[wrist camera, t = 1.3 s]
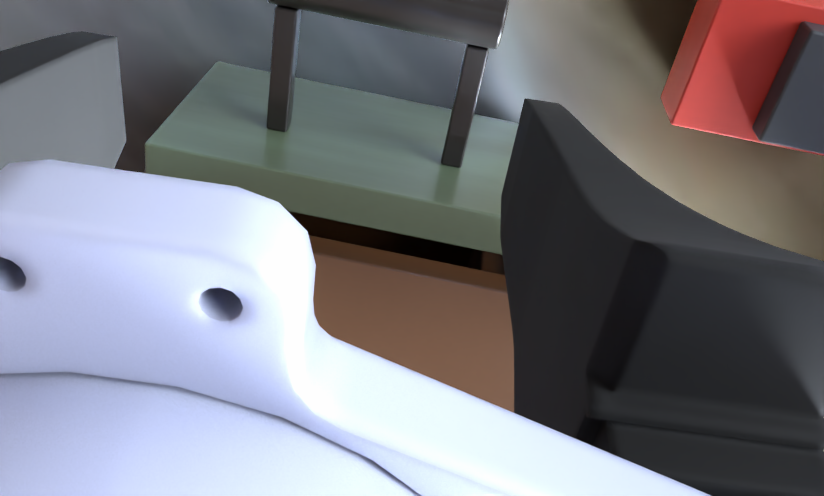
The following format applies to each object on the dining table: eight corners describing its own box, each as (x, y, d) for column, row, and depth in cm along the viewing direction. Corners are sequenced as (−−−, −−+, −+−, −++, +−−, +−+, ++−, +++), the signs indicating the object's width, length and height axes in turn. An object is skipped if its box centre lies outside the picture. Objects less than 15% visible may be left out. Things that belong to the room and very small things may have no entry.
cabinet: (206, 94, 27) (109, 211, 20) (550, 164, 27) (563, 304, 20) (200, 368, 34) (128, 518, 28) (470, 423, 34) (460, 584, 28)
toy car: (937, 8, 23) (1005, 53, 20) (868, 130, 25) (919, 189, 22) (702, -41, 23) (732, -3, 19) (655, 86, 25) (675, 138, 22)
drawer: (221, -102, 22) (137, -52, 17) (594, -25, 22) (616, 47, 17) (208, 337, 32) (152, 450, 27) (469, 390, 32) (461, 512, 27)
